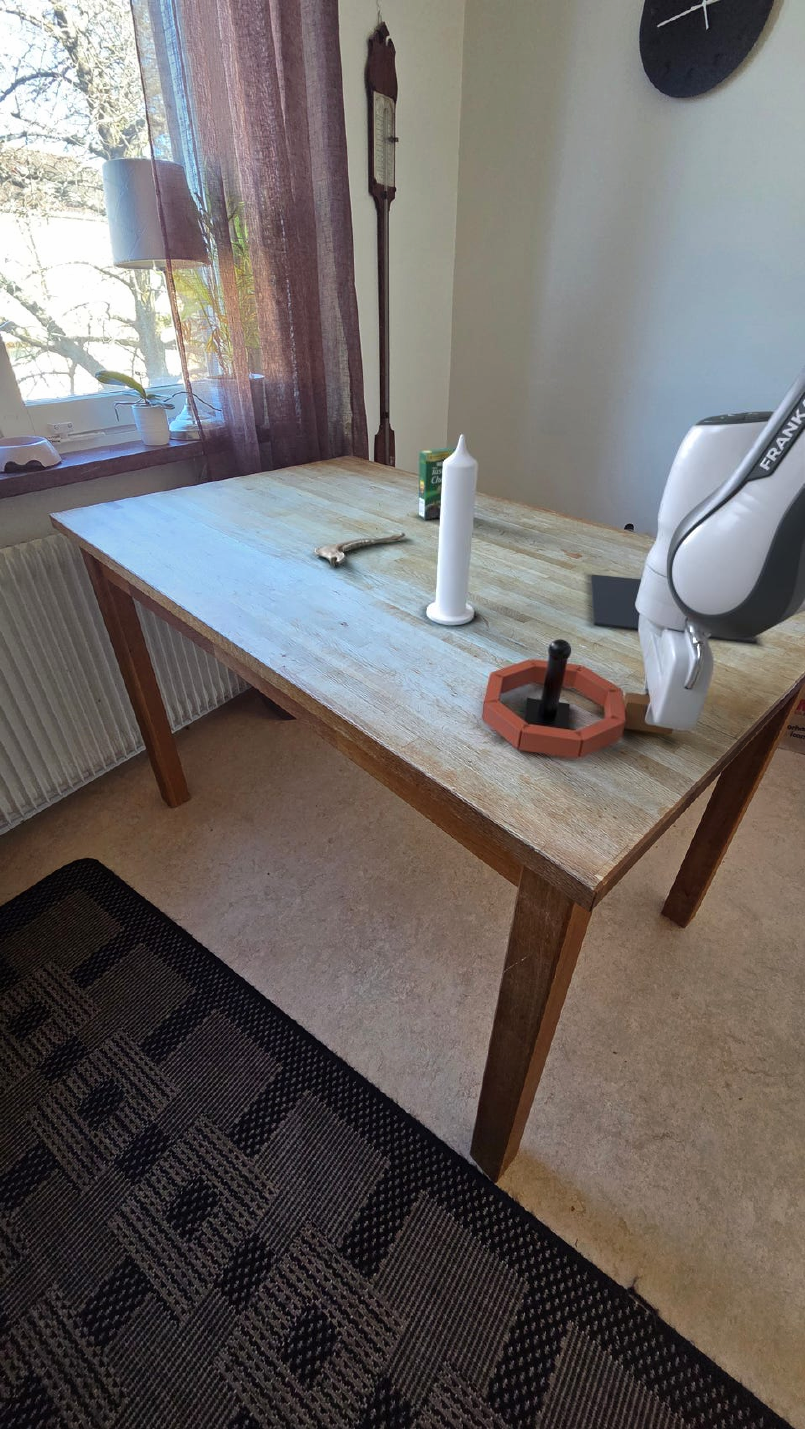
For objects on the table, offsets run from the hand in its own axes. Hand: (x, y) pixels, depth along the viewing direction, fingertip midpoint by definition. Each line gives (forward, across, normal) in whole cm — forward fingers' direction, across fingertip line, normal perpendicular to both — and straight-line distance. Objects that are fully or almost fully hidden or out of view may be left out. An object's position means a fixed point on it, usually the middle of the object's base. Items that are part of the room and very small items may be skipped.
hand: (650, 712), depth 66 cm
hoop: (+2, 0, +8) cm, 8 cm away
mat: (+3, +34, -6) cm, 35 cm away
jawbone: (+2, +43, +44) cm, 61 cm away
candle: (+3, +23, +26) cm, 35 cm away
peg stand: (+3, 0, +11) cm, 11 cm away
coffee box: (+2, +67, +36) cm, 76 cm away
